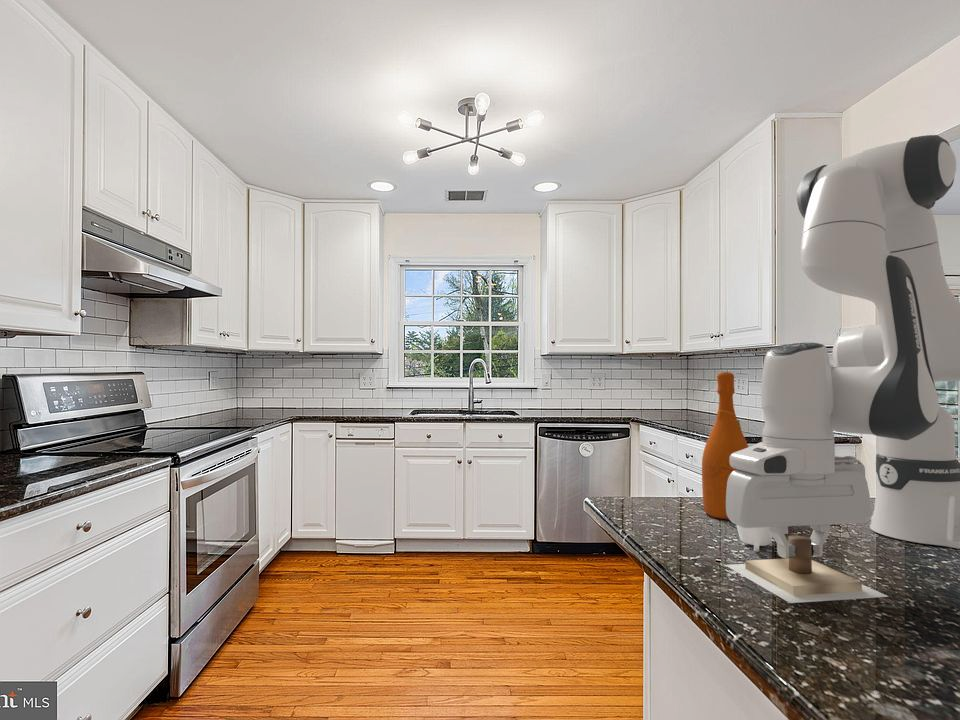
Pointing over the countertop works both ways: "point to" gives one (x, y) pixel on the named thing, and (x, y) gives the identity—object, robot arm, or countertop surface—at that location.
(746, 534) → the cup
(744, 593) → the countertop surface
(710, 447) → the wine bottle
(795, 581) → the lid
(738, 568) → the mat
